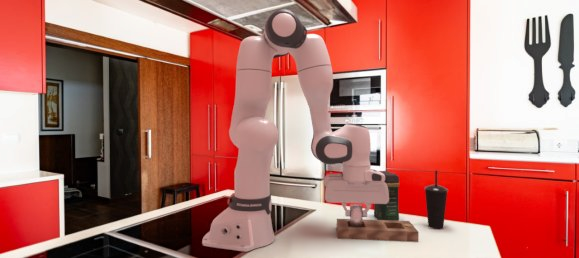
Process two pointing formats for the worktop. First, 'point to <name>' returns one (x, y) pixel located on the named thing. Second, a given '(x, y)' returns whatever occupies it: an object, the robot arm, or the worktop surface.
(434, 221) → the drinking cup
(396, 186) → the coffee jar
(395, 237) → the board
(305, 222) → the worktop surface
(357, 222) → the pin
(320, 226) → the worktop surface
